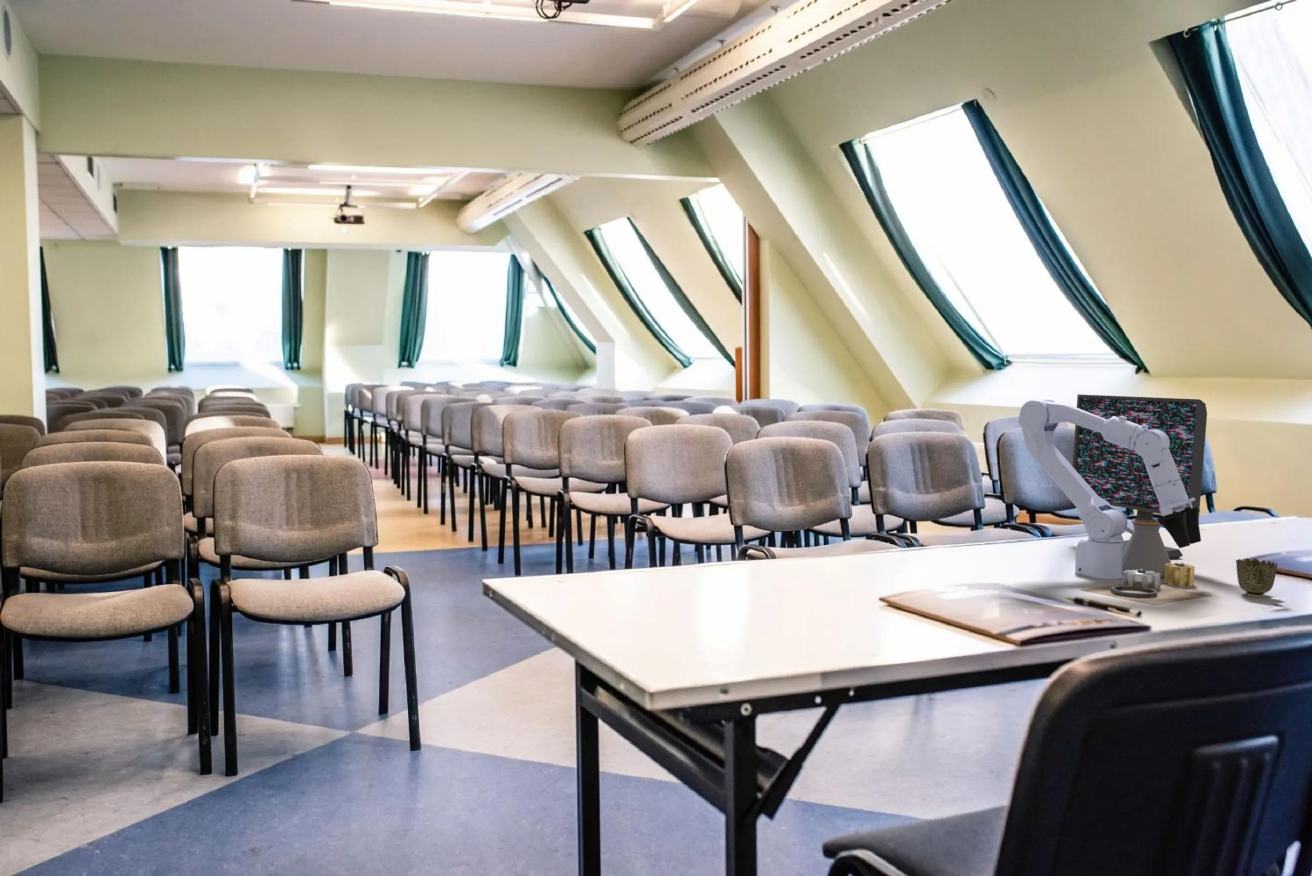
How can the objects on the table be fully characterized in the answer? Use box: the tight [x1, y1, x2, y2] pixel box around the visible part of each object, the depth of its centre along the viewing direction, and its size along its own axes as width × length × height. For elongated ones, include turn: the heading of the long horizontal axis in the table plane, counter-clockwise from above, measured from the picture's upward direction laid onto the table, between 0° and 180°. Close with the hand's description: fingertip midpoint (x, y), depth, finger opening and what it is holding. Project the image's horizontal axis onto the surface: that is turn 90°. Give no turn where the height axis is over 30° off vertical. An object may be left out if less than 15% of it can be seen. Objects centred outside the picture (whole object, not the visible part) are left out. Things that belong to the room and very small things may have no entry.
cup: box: [1235, 557, 1278, 598], centre depth 231 cm, size 8×7×8 cm
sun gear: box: [1122, 569, 1161, 590], centre depth 239 cm, size 7×7×4 cm
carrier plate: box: [1081, 583, 1213, 606], centre depth 233 cm, size 17×19×1 cm
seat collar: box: [1111, 586, 1157, 598], centre depth 231 cm, size 9×9×1 cm
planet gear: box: [1163, 562, 1195, 588], centre depth 242 cm, size 6×6×5 cm
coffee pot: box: [1122, 519, 1173, 579], centre depth 258 cm, size 21×12×15 cm, turn 33°
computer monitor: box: [1071, 393, 1208, 560], centre depth 286 cm, size 44×16×40 cm, turn 17°
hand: (1190, 544), depth 239 cm, fingers open, 7 cm apart
